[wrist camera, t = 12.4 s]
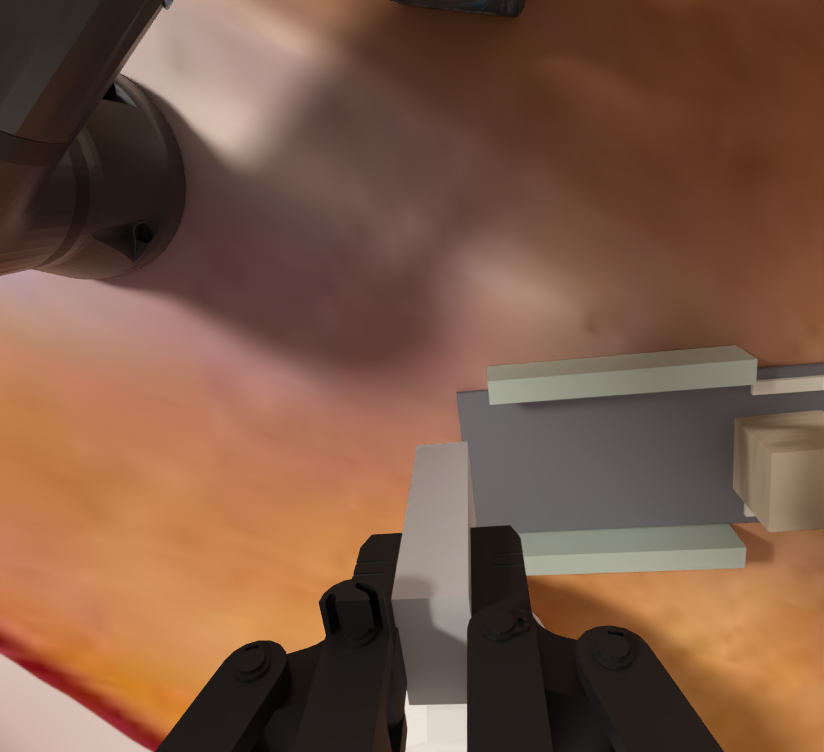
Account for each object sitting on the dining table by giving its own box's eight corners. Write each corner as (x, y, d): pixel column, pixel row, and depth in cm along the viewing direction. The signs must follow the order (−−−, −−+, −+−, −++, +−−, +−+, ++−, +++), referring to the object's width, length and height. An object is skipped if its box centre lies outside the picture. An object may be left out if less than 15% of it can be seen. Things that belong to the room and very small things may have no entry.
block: (732, 488, 46) (768, 532, 40) (734, 417, 44) (771, 453, 38) (816, 482, 45) (865, 526, 39) (821, 409, 43) (873, 445, 37)
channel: (503, 550, 50) (505, 576, 47) (486, 366, 45) (487, 381, 42) (726, 540, 48) (745, 567, 44) (736, 345, 43) (757, 359, 39)
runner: (472, 532, 50) (472, 537, 49) (457, 392, 46) (456, 395, 45) (857, 514, 46) (863, 520, 45) (876, 358, 42) (884, 361, 41)
